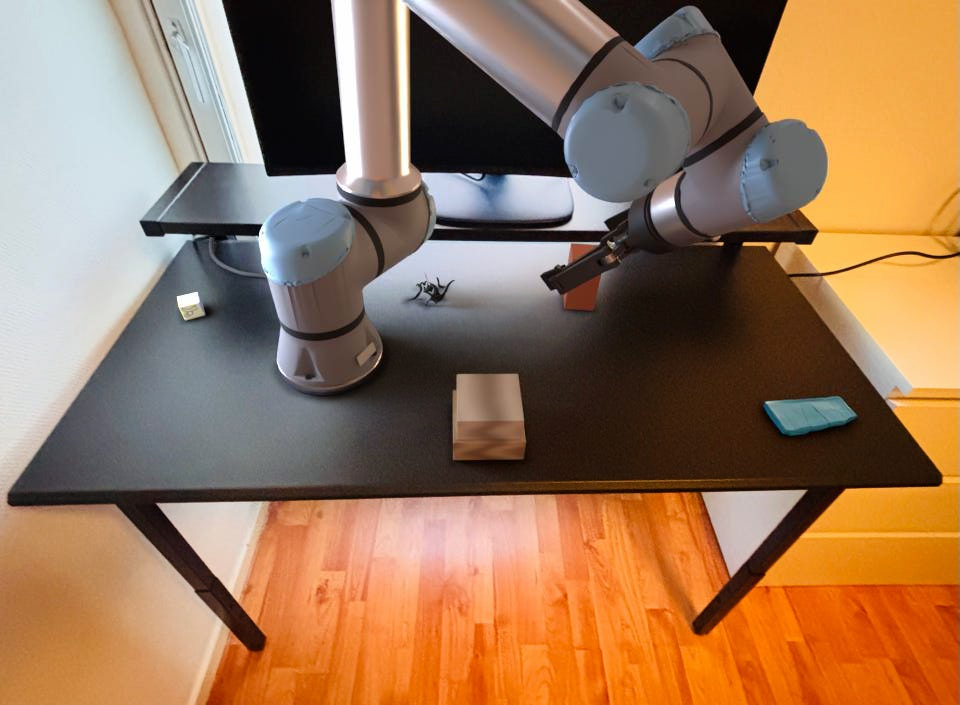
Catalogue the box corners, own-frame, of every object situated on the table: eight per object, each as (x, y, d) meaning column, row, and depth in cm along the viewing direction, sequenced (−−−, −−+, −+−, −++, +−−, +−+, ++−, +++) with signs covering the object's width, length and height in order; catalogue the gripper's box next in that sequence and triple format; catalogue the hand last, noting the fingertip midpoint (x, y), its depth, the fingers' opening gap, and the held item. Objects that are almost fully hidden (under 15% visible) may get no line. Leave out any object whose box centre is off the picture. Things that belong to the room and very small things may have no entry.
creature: (400, 301, 94) (422, 316, 88) (394, 273, 91) (417, 286, 85) (437, 287, 97) (462, 300, 91) (433, 259, 94) (458, 271, 89)
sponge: (867, 428, 73) (843, 393, 76) (784, 433, 71) (765, 398, 75) (860, 434, 74) (837, 399, 78) (779, 439, 73) (760, 404, 76)
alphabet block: (205, 316, 87) (199, 301, 85) (184, 321, 86) (178, 306, 84) (203, 306, 89) (197, 291, 87) (183, 310, 88) (176, 295, 86)
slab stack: (453, 460, 68) (453, 424, 63) (452, 407, 74) (452, 371, 69) (523, 459, 68) (528, 423, 63) (517, 406, 75) (521, 371, 70)
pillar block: (564, 309, 92) (572, 259, 85) (562, 292, 95) (570, 243, 89) (593, 310, 92) (604, 261, 85) (590, 293, 95) (601, 244, 89)
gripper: (619, 311, 55) (534, 327, 75) (761, 180, 62) (648, 227, 82) (578, 252, 54) (502, 284, 74) (728, 124, 60) (621, 186, 81)
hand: (579, 254), depth 78 cm, fingers open, 13 cm apart
